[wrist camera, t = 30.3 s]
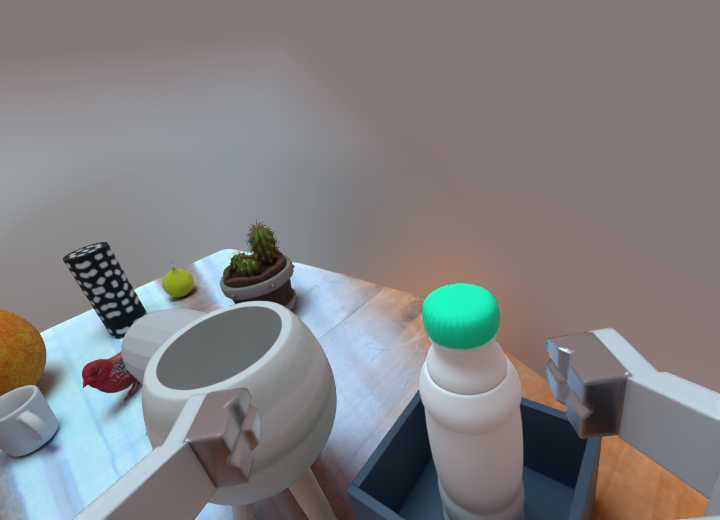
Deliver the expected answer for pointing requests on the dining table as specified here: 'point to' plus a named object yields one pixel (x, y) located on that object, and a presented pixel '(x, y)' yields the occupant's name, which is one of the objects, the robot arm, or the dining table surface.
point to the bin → (420, 479)
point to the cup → (25, 421)
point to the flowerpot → (260, 273)
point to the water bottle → (472, 407)
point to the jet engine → (152, 336)
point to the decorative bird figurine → (109, 375)
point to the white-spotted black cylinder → (106, 287)
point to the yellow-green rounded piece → (178, 282)
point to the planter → (269, 395)
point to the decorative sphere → (19, 353)
